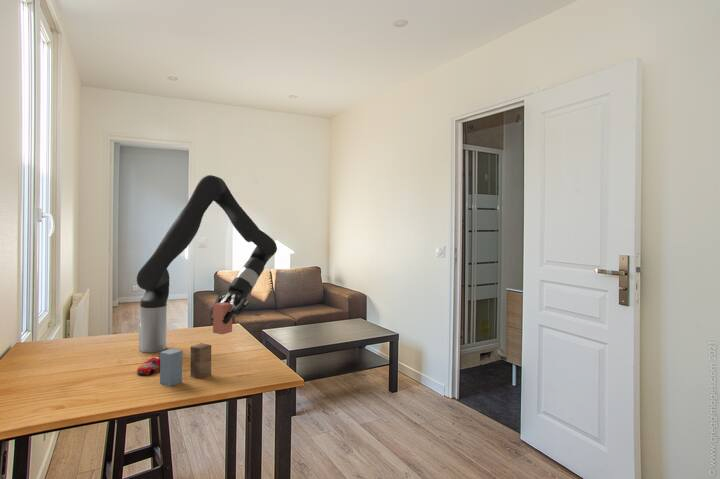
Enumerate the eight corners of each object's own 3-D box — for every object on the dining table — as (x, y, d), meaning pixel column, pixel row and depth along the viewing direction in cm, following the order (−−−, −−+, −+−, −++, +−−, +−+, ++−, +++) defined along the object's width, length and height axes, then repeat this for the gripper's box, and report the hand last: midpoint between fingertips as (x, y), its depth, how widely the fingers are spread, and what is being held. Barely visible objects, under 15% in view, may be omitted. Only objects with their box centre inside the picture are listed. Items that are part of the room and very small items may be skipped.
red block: (212, 332, 146) (213, 304, 146) (222, 329, 150) (223, 302, 150) (222, 334, 144) (222, 305, 144) (232, 331, 148) (232, 303, 148)
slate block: (160, 383, 131) (160, 352, 131) (172, 379, 135) (172, 348, 135) (169, 386, 129) (170, 354, 129) (182, 381, 133) (182, 350, 133)
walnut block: (190, 376, 138) (190, 346, 138) (201, 372, 142) (201, 343, 142) (200, 379, 136) (200, 348, 136) (211, 374, 140) (211, 345, 140)
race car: (146, 377, 137) (146, 365, 137) (133, 375, 138) (133, 363, 138) (174, 364, 150) (174, 353, 150) (162, 363, 151) (162, 352, 151)
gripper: (224, 274, 156) (197, 312, 146) (254, 278, 150) (228, 318, 139) (234, 287, 161) (209, 324, 151) (263, 291, 155) (239, 330, 144)
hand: (218, 321), depth 145 cm, fingers closed on red block, 4 cm apart
